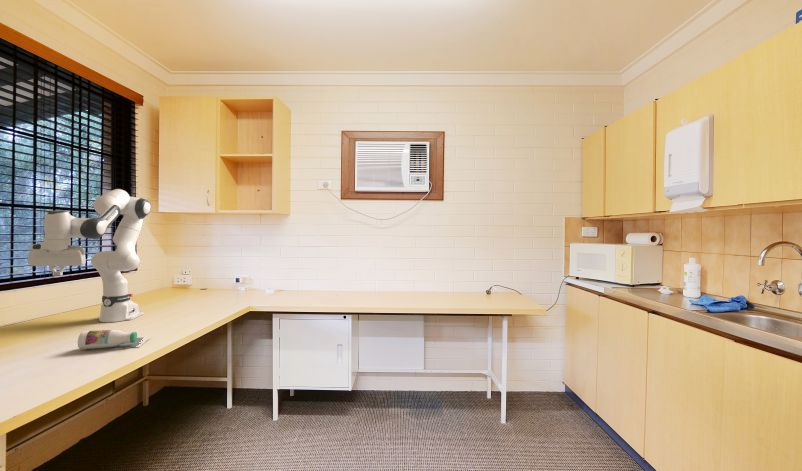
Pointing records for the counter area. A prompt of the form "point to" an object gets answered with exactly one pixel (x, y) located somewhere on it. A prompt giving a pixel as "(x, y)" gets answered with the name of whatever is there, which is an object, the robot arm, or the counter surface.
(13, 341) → the counter surface
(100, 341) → the milk bottle
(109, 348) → the mat
